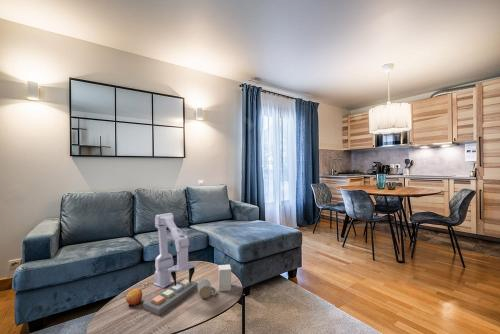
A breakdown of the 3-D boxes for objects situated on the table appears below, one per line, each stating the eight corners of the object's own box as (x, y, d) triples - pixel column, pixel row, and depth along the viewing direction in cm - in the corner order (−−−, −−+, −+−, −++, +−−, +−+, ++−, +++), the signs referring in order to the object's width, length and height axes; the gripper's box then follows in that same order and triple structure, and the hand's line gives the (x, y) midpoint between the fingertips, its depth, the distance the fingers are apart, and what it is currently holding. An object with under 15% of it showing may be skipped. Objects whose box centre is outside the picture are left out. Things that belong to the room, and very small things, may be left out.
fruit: (148, 295, 129) (142, 287, 125) (139, 310, 123) (132, 301, 119) (137, 293, 132) (131, 284, 128) (127, 307, 125) (120, 298, 121)
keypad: (142, 308, 120) (142, 302, 120) (183, 283, 145) (183, 278, 145) (158, 315, 114) (158, 309, 114) (198, 287, 139) (198, 283, 139)
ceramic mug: (199, 300, 126) (199, 286, 126) (197, 292, 134) (197, 279, 134) (218, 297, 130) (218, 283, 130) (215, 289, 138) (215, 276, 138)
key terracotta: (151, 303, 120) (151, 299, 120) (158, 298, 124) (158, 295, 124) (157, 305, 118) (157, 301, 118) (164, 301, 122) (164, 297, 122)
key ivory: (179, 285, 137) (179, 282, 137) (185, 282, 141) (185, 279, 141) (185, 287, 135) (185, 284, 135) (190, 284, 139) (190, 280, 139)
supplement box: (231, 290, 137) (231, 269, 136) (218, 291, 135) (218, 270, 135) (230, 284, 144) (230, 264, 144) (218, 285, 143) (218, 264, 142)
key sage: (162, 296, 126) (162, 293, 126) (168, 292, 130) (168, 289, 130) (167, 298, 124) (167, 295, 124) (174, 294, 128) (174, 291, 128)
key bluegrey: (171, 290, 131) (171, 287, 131) (177, 287, 135) (177, 283, 135) (176, 292, 129) (176, 289, 129) (182, 289, 133) (182, 285, 133)
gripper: (169, 264, 120) (169, 290, 120) (197, 259, 126) (197, 283, 126) (168, 259, 126) (168, 283, 126) (194, 254, 132) (194, 278, 133)
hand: (182, 283), depth 127 cm, fingers open, 7 cm apart
